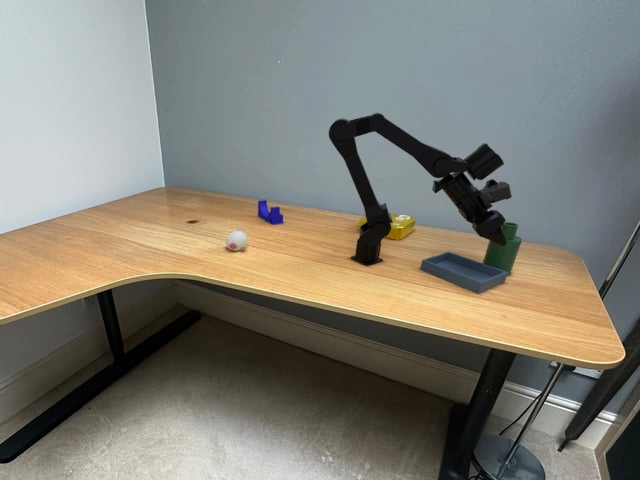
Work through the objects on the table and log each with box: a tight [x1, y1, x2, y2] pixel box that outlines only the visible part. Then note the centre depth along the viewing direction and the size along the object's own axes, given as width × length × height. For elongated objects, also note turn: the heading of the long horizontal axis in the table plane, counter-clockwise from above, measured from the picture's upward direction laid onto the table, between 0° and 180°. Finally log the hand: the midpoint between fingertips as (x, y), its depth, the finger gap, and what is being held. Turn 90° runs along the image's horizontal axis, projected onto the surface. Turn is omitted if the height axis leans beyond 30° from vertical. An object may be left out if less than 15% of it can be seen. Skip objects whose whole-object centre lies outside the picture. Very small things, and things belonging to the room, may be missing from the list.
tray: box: [419, 251, 508, 294], centre depth 96 cm, size 11×16×3 cm
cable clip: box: [257, 199, 284, 226], centre depth 139 cm, size 12×4×6 cm, turn 25°
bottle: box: [482, 221, 523, 277], centre depth 96 cm, size 7×7×13 cm
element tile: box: [358, 212, 416, 241], centre depth 128 cm, size 15×15×5 cm
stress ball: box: [225, 230, 248, 253], centre depth 113 cm, size 8×8×7 cm
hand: (498, 238), depth 95 cm, fingers open, 9 cm apart
